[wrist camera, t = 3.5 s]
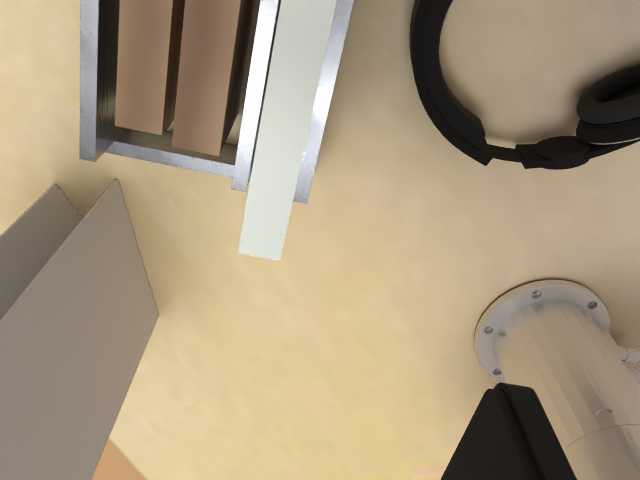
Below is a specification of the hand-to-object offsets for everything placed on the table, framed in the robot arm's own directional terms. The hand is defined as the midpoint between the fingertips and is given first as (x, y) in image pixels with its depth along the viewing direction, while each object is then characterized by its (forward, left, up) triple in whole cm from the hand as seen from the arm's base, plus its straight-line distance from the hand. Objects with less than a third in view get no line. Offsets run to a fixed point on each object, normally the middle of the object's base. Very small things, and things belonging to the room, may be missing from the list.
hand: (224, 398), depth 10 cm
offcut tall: (+5, 0, -35) cm, 35 cm away
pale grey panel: (0, 0, -35) cm, 35 cm away
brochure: (+13, +21, -35) cm, 43 cm away
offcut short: (+9, 0, -35) cm, 36 cm away
